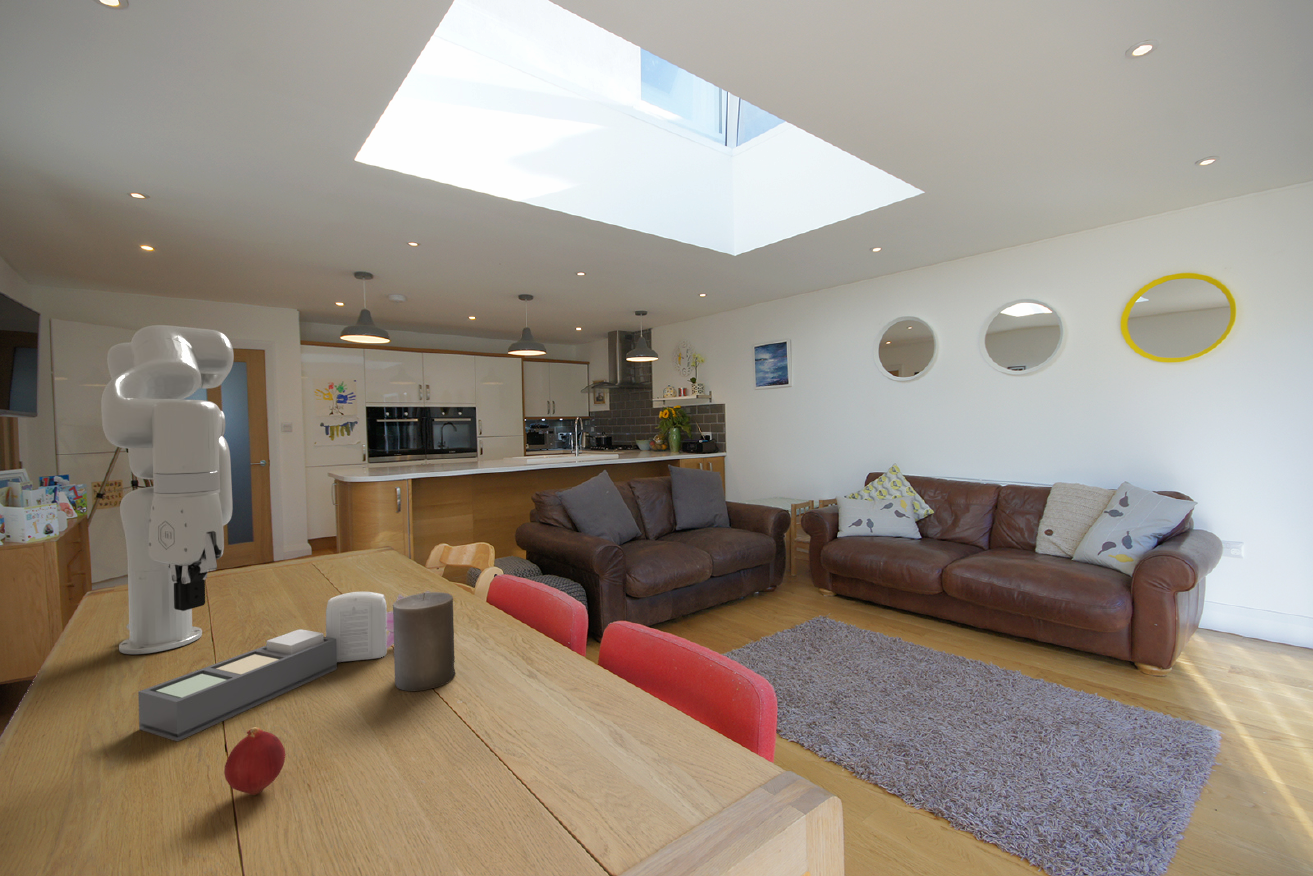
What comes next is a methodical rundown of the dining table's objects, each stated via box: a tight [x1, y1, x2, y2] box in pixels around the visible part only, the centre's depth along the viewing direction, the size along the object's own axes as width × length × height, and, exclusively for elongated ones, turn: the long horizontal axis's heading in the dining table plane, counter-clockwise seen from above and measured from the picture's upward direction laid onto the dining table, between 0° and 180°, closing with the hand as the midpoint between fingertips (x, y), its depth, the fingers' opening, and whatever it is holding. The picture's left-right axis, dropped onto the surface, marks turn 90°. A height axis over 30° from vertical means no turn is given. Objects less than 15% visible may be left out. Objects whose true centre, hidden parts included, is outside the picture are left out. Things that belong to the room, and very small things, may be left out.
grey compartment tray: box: [137, 636, 338, 742], centre depth 91 cm, size 9×25×6 cm, turn 159°
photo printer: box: [325, 591, 388, 663], centre depth 106 cm, size 10×4×12 cm, turn 106°
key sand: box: [216, 654, 279, 675], centre depth 91 cm, size 6×6×4 cm
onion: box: [223, 726, 286, 796], centre depth 67 cm, size 6×6×8 cm
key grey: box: [266, 628, 325, 655], centre depth 99 cm, size 6×6×4 cm
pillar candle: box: [392, 591, 456, 692], centre depth 97 cm, size 10×10×15 cm
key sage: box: [156, 674, 226, 698], centre depth 84 cm, size 6×6×4 cm
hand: (190, 607), depth 84 cm, fingers closed
